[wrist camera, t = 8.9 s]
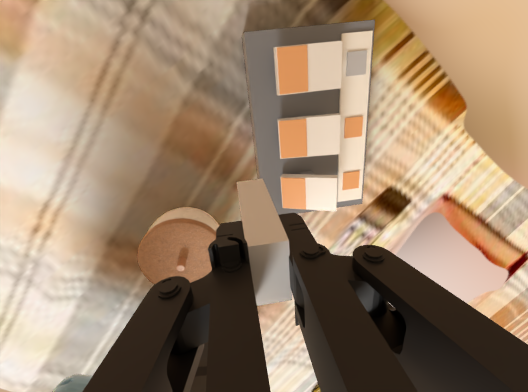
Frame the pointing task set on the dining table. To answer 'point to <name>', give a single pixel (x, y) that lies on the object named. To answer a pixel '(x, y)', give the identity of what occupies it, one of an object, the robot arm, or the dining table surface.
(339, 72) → the switch
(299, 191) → the switch
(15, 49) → the dining table surface
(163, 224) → the lidded jar
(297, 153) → the switch
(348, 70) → the switch unit
